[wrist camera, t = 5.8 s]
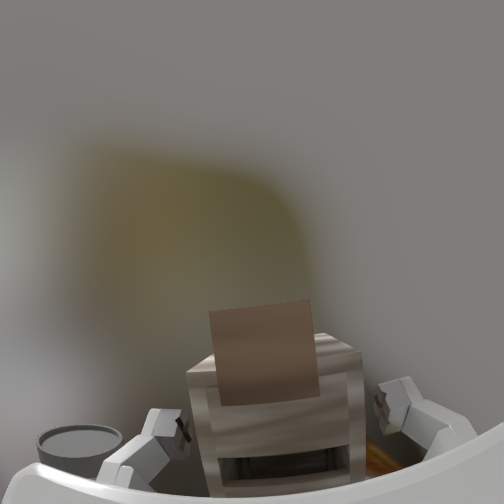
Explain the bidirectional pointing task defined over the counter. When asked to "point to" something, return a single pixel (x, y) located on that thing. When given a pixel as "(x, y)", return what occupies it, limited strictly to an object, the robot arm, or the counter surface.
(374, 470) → the counter surface
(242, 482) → the crate
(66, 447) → the reusable coffee cup
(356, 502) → the robot arm
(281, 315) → the walnut box
